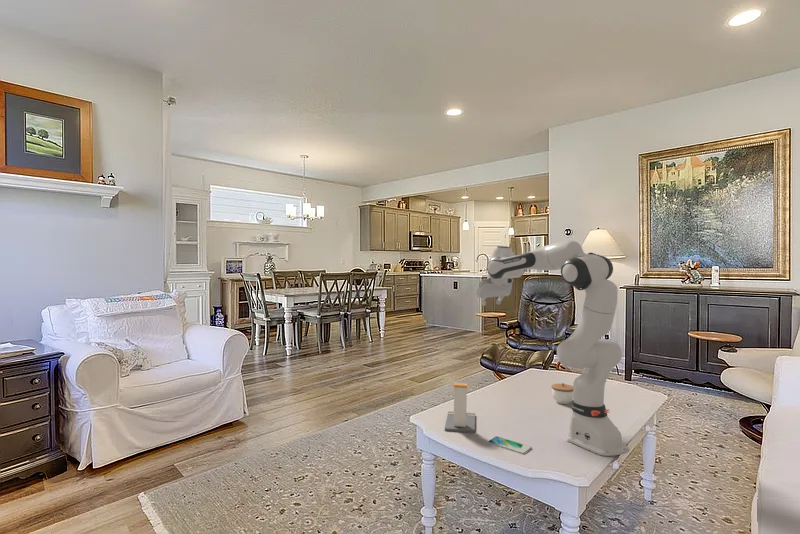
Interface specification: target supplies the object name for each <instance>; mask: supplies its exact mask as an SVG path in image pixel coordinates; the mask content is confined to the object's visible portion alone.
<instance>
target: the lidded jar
mask: <svg viewBox="0 0 800 534" xmlns="http://www.w3.org/2000/svg"><path fill="white" fill-rule="evenodd" d="M551 394H552V397H553V399H554V400H555V402H556V403H558V404H560V405H561V404H562V405H569V404H570V403H572V400H573V385H570V384H567V383H565V382H561V383H553V384H551Z"/></svg>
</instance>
